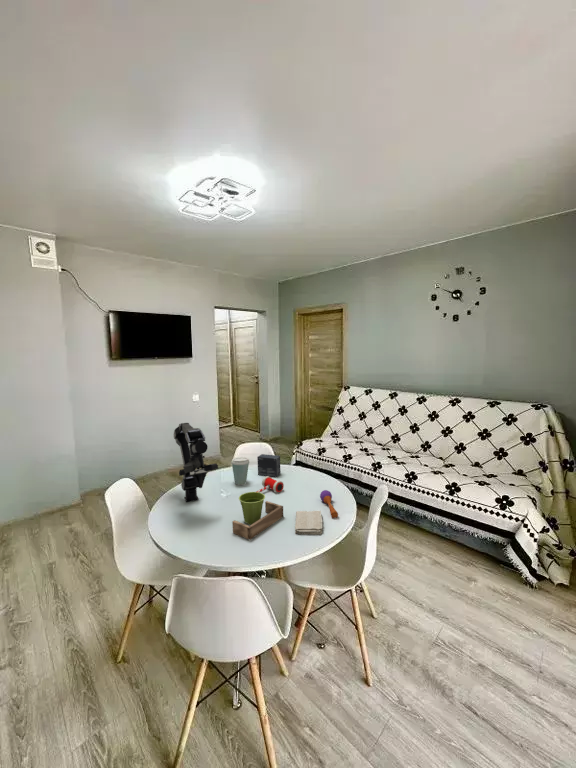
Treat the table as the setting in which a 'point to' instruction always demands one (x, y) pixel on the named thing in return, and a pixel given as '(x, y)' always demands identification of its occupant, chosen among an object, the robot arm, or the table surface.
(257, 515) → the plant pot
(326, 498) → the kendama
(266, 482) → the toy hammer
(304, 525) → the washcloth
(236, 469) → the disposable coffee cup
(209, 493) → the table surface
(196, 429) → the robot arm
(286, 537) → the table surface
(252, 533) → the wooden frame
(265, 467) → the small box
